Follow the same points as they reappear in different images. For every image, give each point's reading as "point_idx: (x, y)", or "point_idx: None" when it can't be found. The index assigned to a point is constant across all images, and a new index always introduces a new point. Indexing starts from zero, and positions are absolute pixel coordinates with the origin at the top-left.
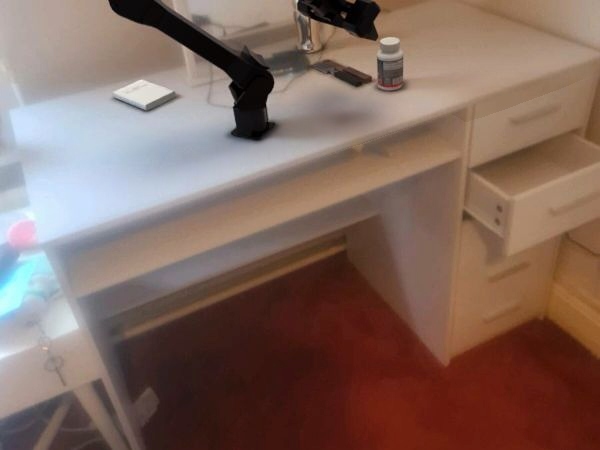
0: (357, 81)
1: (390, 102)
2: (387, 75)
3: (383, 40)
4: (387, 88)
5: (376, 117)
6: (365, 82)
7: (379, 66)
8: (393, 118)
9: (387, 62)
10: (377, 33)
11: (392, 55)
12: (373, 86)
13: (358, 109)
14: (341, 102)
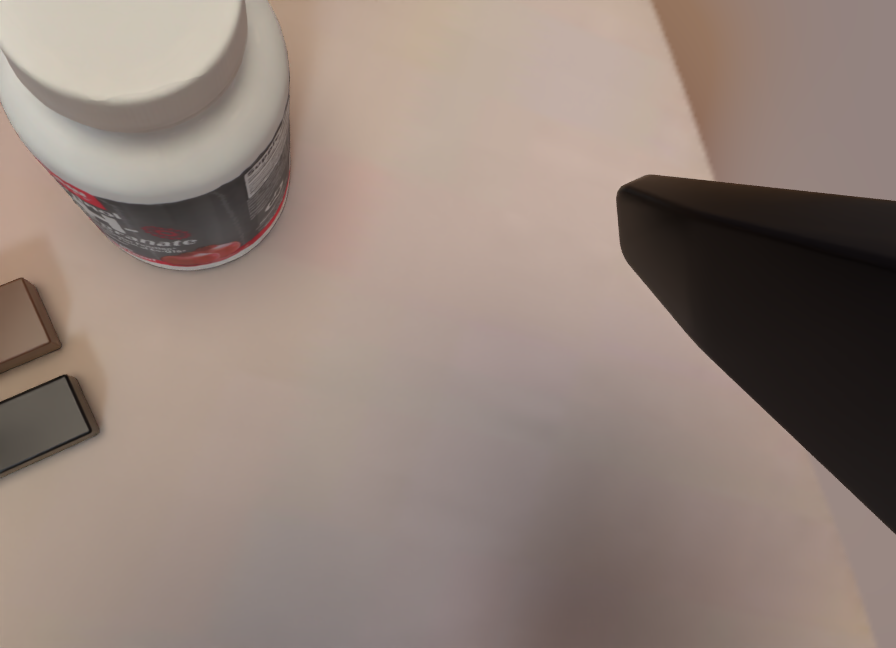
0: (63, 416)
1: (460, 261)
2: (273, 185)
3: (66, 47)
4: (274, 219)
5: (641, 414)
6: (57, 345)
7: (199, 218)
8: None
9: (270, 141)
10: (720, 186)
11: (262, 62)
12: (145, 300)
13: (490, 507)
14: (332, 612)
